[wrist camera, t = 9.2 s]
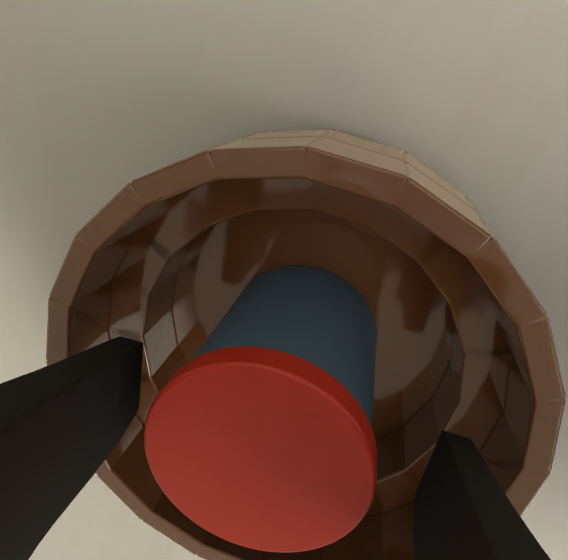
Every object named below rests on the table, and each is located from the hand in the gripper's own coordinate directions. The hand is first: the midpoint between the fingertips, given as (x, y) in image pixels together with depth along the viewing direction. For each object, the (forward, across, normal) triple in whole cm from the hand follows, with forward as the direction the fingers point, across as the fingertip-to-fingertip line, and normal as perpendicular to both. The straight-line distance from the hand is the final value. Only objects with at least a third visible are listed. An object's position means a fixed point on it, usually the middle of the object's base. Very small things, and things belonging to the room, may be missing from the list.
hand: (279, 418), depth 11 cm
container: (+4, 0, 0) cm, 4 cm away
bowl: (+5, 0, 0) cm, 5 cm away
